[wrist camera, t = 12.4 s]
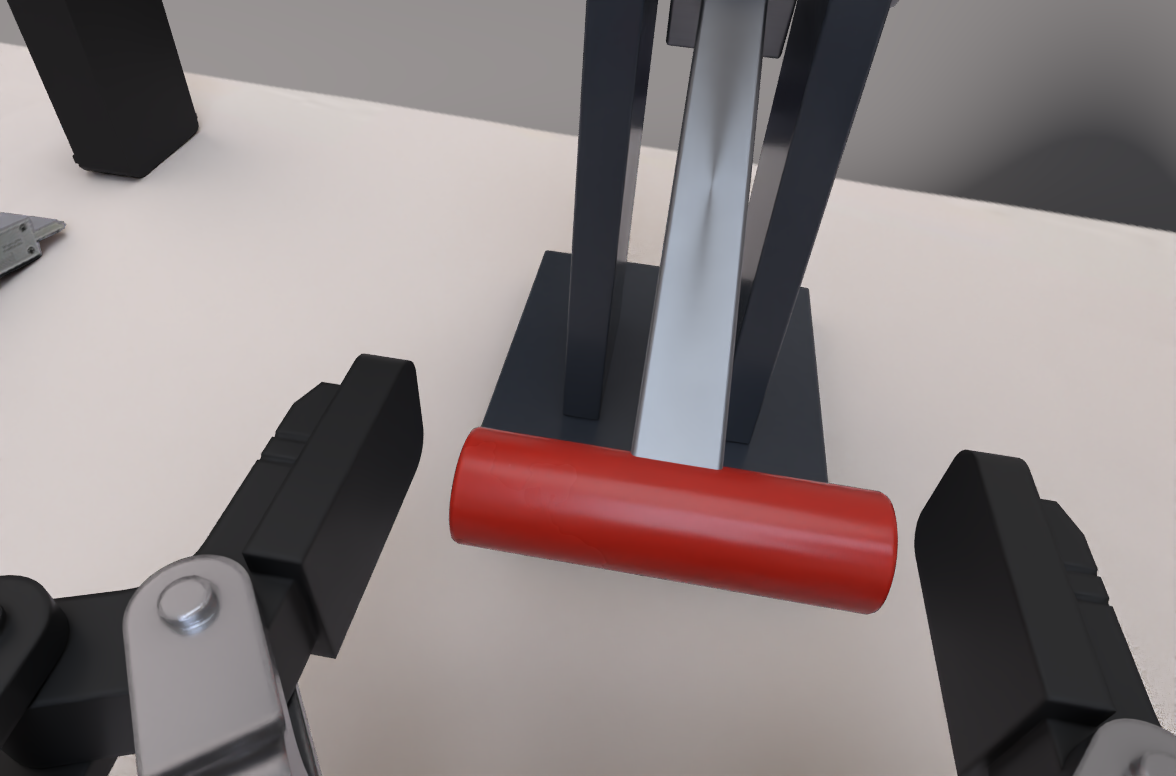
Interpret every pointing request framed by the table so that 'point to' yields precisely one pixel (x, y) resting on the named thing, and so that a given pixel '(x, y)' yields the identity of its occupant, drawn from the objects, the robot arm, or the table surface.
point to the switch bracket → (627, 290)
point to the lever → (688, 395)
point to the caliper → (23, 239)
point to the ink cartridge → (110, 79)
